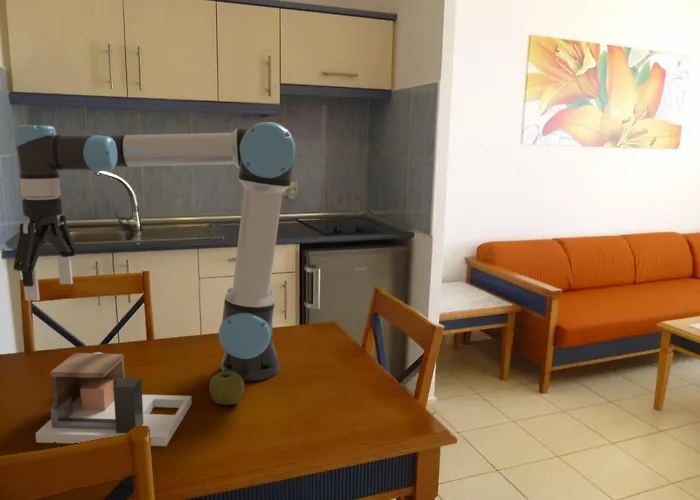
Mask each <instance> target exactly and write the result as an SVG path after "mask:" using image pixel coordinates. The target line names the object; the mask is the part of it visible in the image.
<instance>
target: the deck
mask: <svg viewBox="0 0 700 500" xmlns="http://www.w3.org/2000/svg"><path fill="white" fill-rule="evenodd" d="M192 399H193V398H192V395H169V394H168V395H166V394H165V395H164V394H142V404H143V425H142V426H148V427H149V429H150V438H151V446H150V447H153V446H154V447H167V446H168V444H169V443H170V441H171V438H172V437H173V435H174V434H175V433H176V430H177V429H178V427H179V426H180V424H181V422H182V421H183V420H184V418H185V417H186V415H187V413H188V411H189V409H190V408H191V407H192V404H193V401H192ZM72 405H73V414H72V415H71V416H70V417H69V418H92V419H115V404H114V401H113V402H112V404H111V405H110V406H109V407H108V408H107V409H106V410H105V411H103V410H82V402H81V396H80V397H79V398H78V399H77V400H75V401H74V402H73V403H72ZM154 408H169V409H170V408H176V409H178V410H177V411H176V412H175V414H159V413H158V414H155V413H151V412H152V411H153V410H154ZM124 434H127V433H116V430H109V429H75V428H52V422H51V418H50V420H48V421H47V422H46V423H45V424H44V425H43V426H41V428H40V429H38V430H37V432H35V443H37V444H38V443H43V444H44V443H45V444H72V445H73V444H74V443H80V442H86V441H90V440H95V439H100V438H106V437H113V436H119V435H124ZM54 442H56V443H54Z"/></svg>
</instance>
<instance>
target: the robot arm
mask: <svg viewBox="0 0 700 500" xmlns="http://www.w3.org/2000/svg"><path fill="white" fill-rule="evenodd" d="M15 138H16V139H15V141H16V142H15V143H16V144H15V149H16V152H17V153H16V154H17V162H18V171H19V180H20V182H19V186H20V190H21V196H22V197H24V198H23V199H22V200H21V204H22V214H23V216H25V217H27V218H29V223H20V224H19V236H18V241H17V248H16V252H15V253H16V254H15V257H14V264H13V270H14V271H17V272H21V274H22V275H21V276H22V286H23V292H24V300H25V301H33V302H35V301H36V302H37V301H40V289H39V278H38V270H37V269H35V267H36V264H37V261H38V258H39V256H40V253H41V250H42V247H43V245H44V244H46V242H47V241H50V242H51V245H52V246H53V247H54V249H55V250H56V252H57V253H58V254H59V256H57V268H58V279H59V285H72V284H74V282H73V271H72V260H71V259H72V258H71V257H75V255H76V251H77V247H76V245H75V242H74V240H73V238H72V235H71V232H70V229H69V227H68V225H67V219H66V217H67V216H65V215H62V214H63V206H62V205H63V203H62V198H60V196H61V193H62V192H61V184H60V173H59V172H60V171H80V172H81V171H82V172H88V171H93V172H98V173H99V172H103V171H113V170H115V168H129V167H132V168H133V167H164V166H165V167H171V166H173V167H174V166H177V167H178V166H208V165H209V166H210V165H212V166H213V165H214V166H216V165H234V166H235V167H236V168H238V169H239V173H238V181H239V182H240V184H241V185H242V187H243V196H242V204H241V205H242V207H241V215H240V224H239V231H238V239H237V240H238V241H237V248H236V257H235V264H234V273H233V282H232V286H230V287H229V288H228V289H227V291H226V294H225V295H224V301H223V310H222V320H221V323H220V326H219V328H218V339H219V343H220V346H221V347H222V349H223V350H224V355H223V357H222V360H221V364H220V365H221V369H220V370H221V372H224V371H232V372H235V373H237V374H239V375H240V376H241V377H242V379H243V381H244V382H256V381H257V382H258V381H262V380H266V379H270V378H271V377H274V376H275V375H276V374H277V373H278V372H279V370H280V360H279V358H278V354H277V351H276V348H275V346H274V342H273V319H274V317H273V316H274V310H275V309H274V308H275V298H274V296H273V290H272V288H271V284H272V283H271V282H272V276H273V267H274V261H275V253H276V244H277V237H278V231H279V229H278V228H279V222H280V214H281V205H282V198H283V193H284V192H285V191H286V190H288V189H289V188H290V187H291V182H292V173H293V167H294V161H295V159H296V153H297V151H296V149H297V147H296V142H295V139H294V137H293V136H292V134H291V131H289V130H288V129H287V128H286V126H284V125H282V124H280V123H278V122H273V121H260V122H257V123H255V124H253V125H251V126H250V127H244V128H235V129H234V130H233V131H232V132H213V133H212V132H211V133H209V132H208V133H205V132H203V133H201V132H200V133H168V134H167V133H166V134H165V133H164V134H158V133H157V134H125V135H124V134H117V135H116V134H115V135H112V134H106V135H105V134H104V135H103V134H102V135H100V134H97V135H96V134H93V135H87V134H85V135H82V134H81V135H80V134H79V135H76V134H75V135H63V134H61V135H60V134H57V132H56V128H55V127H54V126H53V125H40V124H38V125H34V124H32V125H31V124H21V125H19V126H17V128H16V129H15Z"/></svg>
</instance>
